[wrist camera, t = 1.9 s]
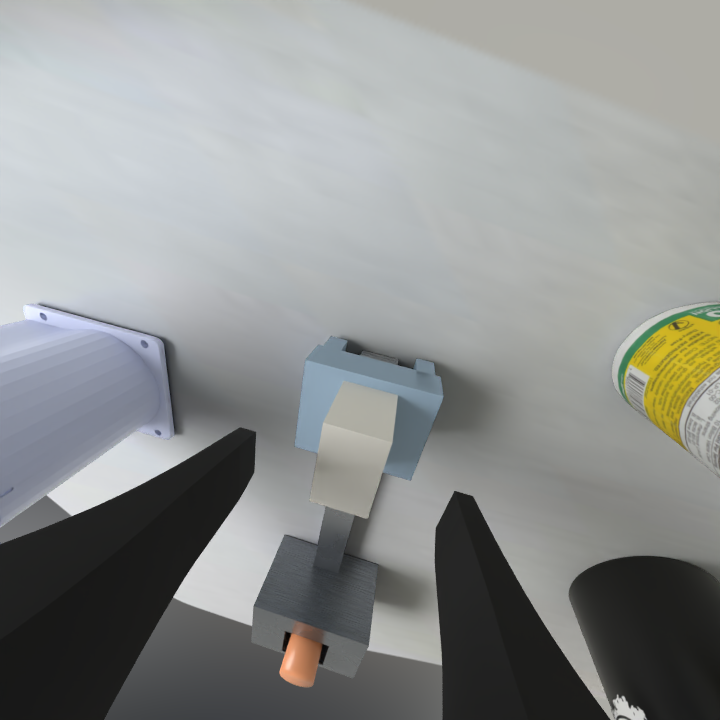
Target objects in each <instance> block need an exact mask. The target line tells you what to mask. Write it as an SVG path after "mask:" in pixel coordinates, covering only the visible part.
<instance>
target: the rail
mask: <svg viewBox="0 0 720 720" xmlns="http://www.w3.org/2000/svg"><path fill="white" fill-rule="evenodd" d="M360 356H364V357H368V358H372V359H375V360H379V361H383V362H387V363H391V364H394V365H398V360H399V359H395V358H391V357H387V356H383V355H379V354H375V353H372V352H368V351H364V350H362V353H361V355H360ZM354 516H355V515H353V514H349V513H346V512H343V511H340V510H336V509H333V508H330V507H327V506H326V508H325V513H324V518H323V522H322V527H321V531H320V536H319V541H318V545H317V550H316V554H315V559H314V564H313V565H314V566H317V567H321V568H324V569H327V570H330V571H333V572H336V573H338V571H339V568H340V564H341V561H342V558H343V554H344V551H345V547H346V544H347V540H348V537H349V534H350V530H351V527H352V523H353V520H354Z"/></svg>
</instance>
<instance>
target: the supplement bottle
mask: <svg viewBox="0 0 720 720" xmlns="http://www.w3.org/2000/svg"><path fill="white" fill-rule="evenodd" d="M612 380H613V383H614V386H615V388H616V390H617V392H618V393H619V394H620V396H621V397H622V398H623V399H624V400H625V401H626V402H627V403H628V404H630V405H631V406H632V407H633V408H634V409H635V410H637V411H638V412H639V413H640V414H642V415H643V416H644V417H645V418H647V419H648V420H649V421H650V422H652V423H653V424H654V425H656V426H657V427H658V428H659V429H661V430H662V431H663V432H664V433H666V434H667V435H668V436H669V437H671V438H672V439H673V440H674V441H676V442H677V443H678V444H679V445H681V446H682V447H683V448H684V449H686V450H687V451H688V452H689V453H690V454H692V455H693V456H694V457H695V458H696V459H698V460H699V461H700V462H701V463H703V464H704V465H705V466H706V467H707V468H709V469H710V470H711V471H712V472H713V473H715V474H716V475H717V476H718V477H720V303H719V302H708V303H700V304H693V305H687V306H682V307H678V308H674V309H671V310H668V311H665V312H663V313H661V314H659V315H657V316H655V317H653V318H651V319H649V320H647V321H645V322H644V323H643V324H641V325H640V326H639V327H638V328H636V329H635V330H634V331H633V332H632V333H631V334H630V335H629V336H628V337H627V338H626V339H625V341H624V342H623V343H622V344H621V346H620V347H619V349H618V350H617V352H616V355H615V357H614V360H613V365H612Z"/></svg>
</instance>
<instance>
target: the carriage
mask: <svg viewBox="0 0 720 720" xmlns="http://www.w3.org/2000/svg"><path fill="white" fill-rule="evenodd" d="M347 341H348V340H344V339H340V338H336V337H332V336H331V337H330V338H329V340H328V341H327V342H326V343H325V345H324V346H322V345H318V346H317V347H316V348H315V349H314V350H313V351H312V353H311V354H310V355H309V356H308V357H307V358H306V360H305V366H304V374H303V382H302V390H301V398H300V406H299V414H298V422H297V430H296V438H295V446H294V447H297V448H301V449H304V450H308V451H311V452H314V453H318V454H317V460H316V465H315V471H314V477H313V483H312V488H311V494H310V500H309V501H310V502H314V503H317V504H320V505H323V506H327V507H330V508H333V509H336V510H340V511H343V512H346V513H349V514H353V515H356V516H359V517H362V518H366V519H368V516H369V513H370V510H371V507H372V504H373V501H374V498H375V495H376V491H377V488H378V485H379V482H380V479H381V476H382V473H386V474H389V475H393V476H396V477H400V478H403V479H406V480H410V481H411V479H412V476H413V474H414V471H415V469H416V466H417V463H418V461H419V458H420V456H421V453H422V451H423V448H424V446H425V443H426V441H427V438H428V436H429V433H430V430H431V428H432V425H433V423H434V420H435V418H436V415H437V413H438V410H439V408H440V405H441V403H442V400H443V397H444V395H443V388H442V382H441V377H440V376H437V375H435V368H434V363H433V362H429V361H425V360H421V359H416V362H415V365H414V368H413V369H410V368H406V367H402V366H398V365H394V364H391V363H387V362H383V361H379V360H375V359H372V358H368V357H364V356H360V355H356V354H352V353H349V352H345V351H346V346H347Z"/></svg>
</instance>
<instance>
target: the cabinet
mask: <svg viewBox="0 0 720 720" xmlns="http://www.w3.org/2000/svg"><path fill="white" fill-rule="evenodd" d="M316 550H317V545H315V544H312V543H309V542H306V541H302V540H299V539H296V538H293V537H290V536H287V535H284V538H283V540H282V542H281V544H280V547H279V549H278V551H277V554H276V556H275V558H274V561H273V563H272V565H271V567H270V570H269V572H268V574H267V577H266V579H265V581H264V583H263V586H262V588H261V590H260V593H259V595H258V597H257V600H256V602H255V604H254V608H253V625H252V643H255V644H258V645H261V646H264V647H267V648H269V649H272V650H275V651H277V652H280V653H283V654H285V653H286V650H287V646H288V643H289V640H290V637H291V634H292V633H293V634H296V635H299V636H301V637H304V638H307V639H310V640H313V641H316V642H319V643H321V644H323V645H322V650H321V654H320V658H319V663H318V666H320V667H323V668H325V669H328V670H331V671H334V672H337V673H339V674H342V675H345V676H348V677H351V678H354V675H355V673H356V671H357V669H358V667H359V665H360V663H361V661H362V659H363V657H364V654H365V652H366V650H367V648H368V646H369V639H370V630H371V622H372V613H373V605H374V596H375V588H376V579H377V571H378V565H377V564H374V563H371V562H368V561H365V560H362V559H359V558H355V557H352V556H349V555H346V554H343V558H342V561H341V564H340V568H339V571H338V573H336V572H333V571H330V570H327V569H324V568H321V567H317V566H314V565H313V564H314V559H315V554H316Z"/></svg>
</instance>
